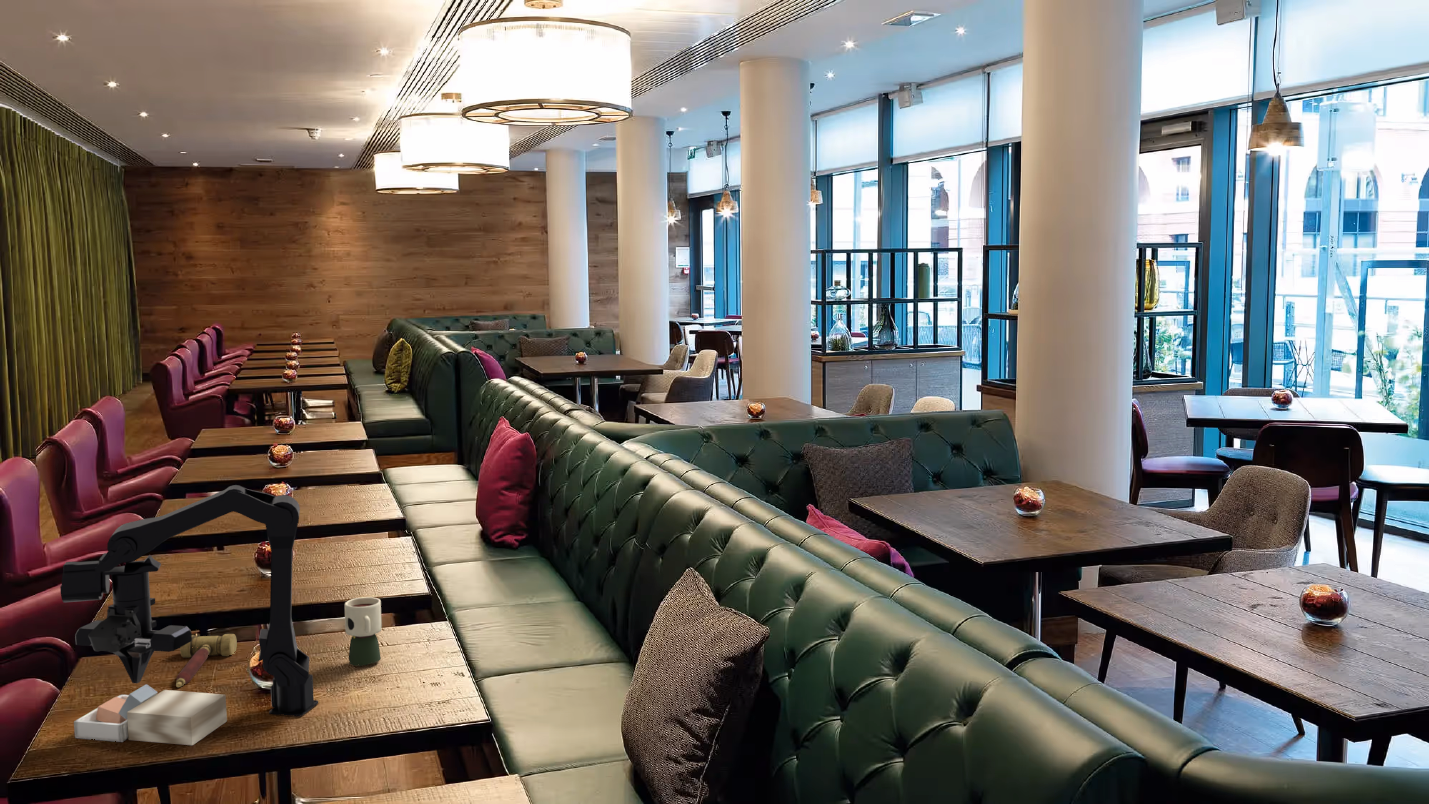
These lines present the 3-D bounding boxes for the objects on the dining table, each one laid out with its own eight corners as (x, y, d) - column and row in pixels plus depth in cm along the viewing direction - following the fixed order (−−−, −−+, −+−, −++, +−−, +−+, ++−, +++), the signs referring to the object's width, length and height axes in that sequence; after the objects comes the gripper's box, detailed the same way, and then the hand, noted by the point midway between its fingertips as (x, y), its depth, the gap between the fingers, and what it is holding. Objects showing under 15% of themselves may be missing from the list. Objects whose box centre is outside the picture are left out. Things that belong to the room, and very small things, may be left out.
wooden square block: (226, 721, 198) (225, 694, 198) (192, 745, 189) (190, 717, 188) (165, 716, 200) (164, 689, 200) (128, 739, 190) (127, 712, 190)
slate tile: (157, 692, 197) (146, 684, 197) (141, 702, 193) (129, 694, 193) (146, 711, 198) (135, 703, 198) (129, 721, 194) (118, 713, 194)
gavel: (204, 673, 213) (149, 675, 212) (206, 695, 214) (151, 697, 213) (236, 630, 233) (186, 631, 232) (237, 650, 234) (188, 652, 233)
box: (166, 713, 201) (166, 698, 201) (122, 742, 190) (121, 725, 189) (122, 710, 203) (121, 694, 202) (75, 738, 191) (73, 721, 191)
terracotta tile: (115, 696, 199) (113, 709, 199) (98, 706, 195) (95, 719, 195) (138, 704, 198) (135, 716, 199) (120, 714, 194) (118, 727, 194)
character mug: (342, 657, 230) (340, 596, 229) (377, 652, 234) (375, 592, 232) (351, 675, 221) (348, 612, 219) (387, 669, 224) (385, 607, 222)
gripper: (49, 607, 186) (55, 696, 188) (149, 614, 183) (155, 704, 185) (95, 588, 197) (100, 672, 199) (191, 594, 194) (195, 679, 196)
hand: (136, 682), depth 194 cm, fingers closed
